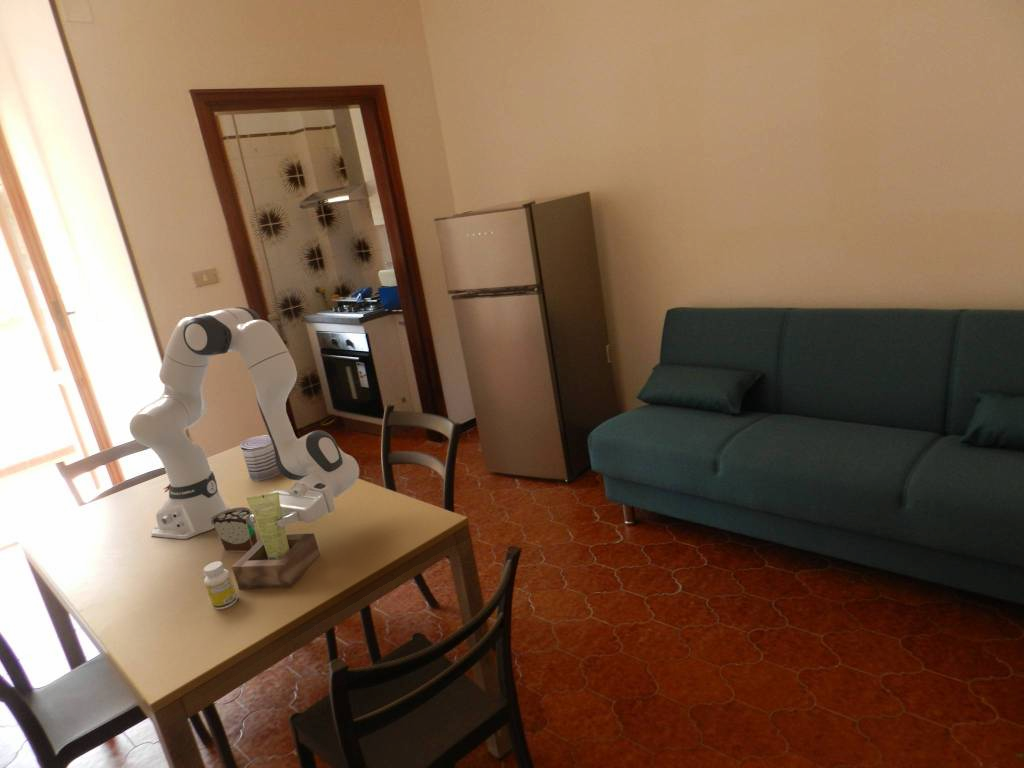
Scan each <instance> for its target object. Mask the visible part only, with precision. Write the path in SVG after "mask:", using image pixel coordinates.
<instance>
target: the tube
mask: <svg viewBox="0 0 1024 768" xmlns="http://www.w3.org/2000/svg"><path fill="white" fill-rule="evenodd" d="M269 493H270V492H269ZM246 501H247V504H248V506H249V509H250V510H251V511H252V513H253V515H254V518H255V521H256V527H257V528H258V531H259V534H260V537H261V538H262V540H263V543H264V546H265V549H266V553H267V556H268V559H269V560H281V559H282V558H283V556H284V555H285V554H286V553H287V552H288V551H289V550H290V549H289V545H288V541H287V536H286V535H287V532H286V527H285V526H284V527H278V526H277V524H276V520H277V519H279V518H280V517H282V512H281V506H280V499H279V492H276V493H270V494H268V493H266V494H261V495H254V496H248V497H246Z"/></svg>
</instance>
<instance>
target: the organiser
mask: <svg viewBox="0 0 1024 768" xmlns="http://www.w3.org/2000/svg"><path fill="white" fill-rule="evenodd" d="M286 536H287V541H288V545H289V549H290V550H289V551H288V552H287V553H286V554H285V555H284V556H283V558H282V559H281V560H269V559H268V556H267V553H266V549H265V546H264V543H263V540H262V537H261V538H260V539H259V540H257V543H256V544H255V545H254V546H253V547H252V548H251V549H250V550H249V551H248V552H245V553H244V554H243V556H241V557H240V558H239V560H237V561H236V562H235V563H234V564H233V565H232V566H231V569H232V573H233V576H234V578H235V582H236V584H237V588H238V589H239V590H259V589H260V590H261V589H263V590H265V589H292V588H293V587H294V586H295V585H296V583H297V582H298V581H299V580H300V579H301V577H302V576H303V575H304V574H305V573H306V572H307V571H308V569H309V568H310V567H311V566H312V565H313V563H315V561H316V560H317V559H318V558H319V557H320V555H321V553H320V550H319V546H318V542H317V540H316V536H315V533H314V532H313V533H294V534H286Z"/></svg>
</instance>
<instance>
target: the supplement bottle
mask: <svg viewBox="0 0 1024 768" xmlns="http://www.w3.org/2000/svg"><path fill="white" fill-rule="evenodd" d="M203 572H204V574H205V577H204V579H203V580H204V585H205V588H206V590H207V594H208V595H209V599H210V602H211V605H212V607H213V608H214V610H216V611H217V610H224V609H227V608H230V607H231V606H233V605H234V604H235V603H237V601H238V597H239V596H238V594H237V591H236V588H235V586H234V582H233V580H232V577H231V573H230V571H229V570H228V569H225V567H224V564H223V562H222V561H219V560H218V561H213V562H211V563H208V564H207V565H206V566H204V568H203Z"/></svg>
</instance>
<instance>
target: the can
mask: <svg viewBox="0 0 1024 768" xmlns="http://www.w3.org/2000/svg"><path fill="white" fill-rule="evenodd" d="M239 448H240V449H241V450H240V451H241V453H242V456H243V460H244V463H245V465H246V469H247V472H248V475H249V479H250V480H251V481H258V482H259V481H263V480H268V479H271V478H274V477H276V476H278V475H280V474H282V473H281V472H280V471H279V469H278V467H277V464H276V459H275V451H274V447H273V444H272V441H271V439H270V436H269V434H263V435H258V436H257V435H256V436H253V437H250V438H247V439H245V440H243V441H241V442H240V443H239Z"/></svg>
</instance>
